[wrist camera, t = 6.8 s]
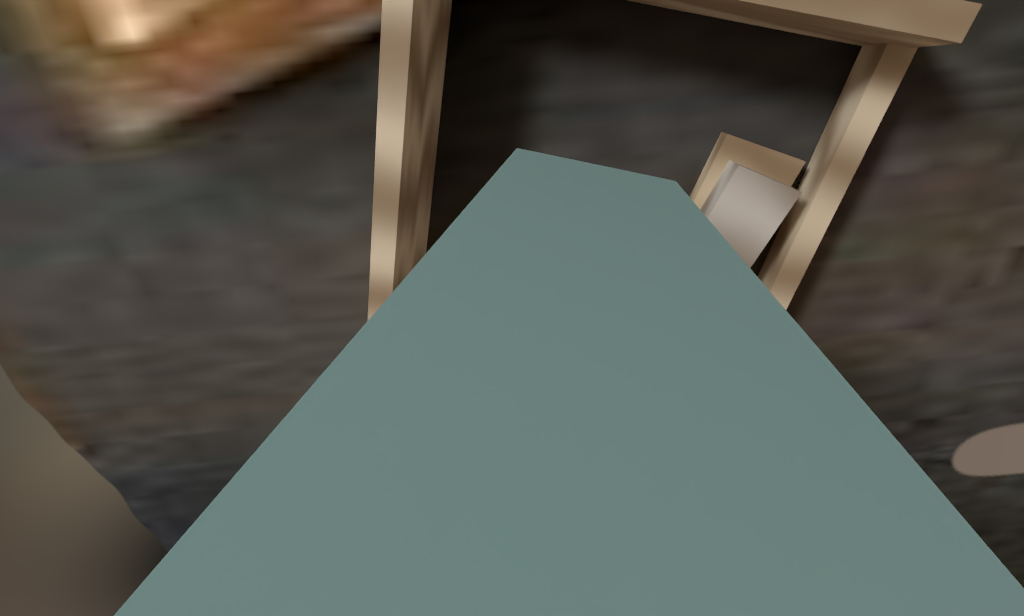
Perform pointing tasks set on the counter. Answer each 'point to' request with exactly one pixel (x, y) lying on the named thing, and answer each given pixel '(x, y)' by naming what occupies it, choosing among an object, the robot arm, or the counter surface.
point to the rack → (767, 3)
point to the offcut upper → (748, 208)
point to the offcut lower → (744, 164)
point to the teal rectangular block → (580, 443)
